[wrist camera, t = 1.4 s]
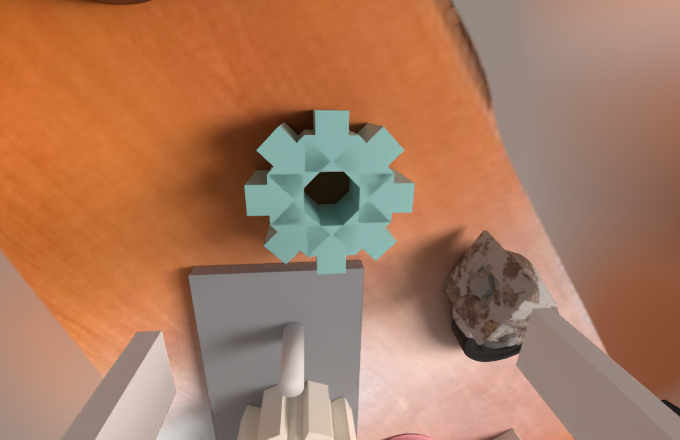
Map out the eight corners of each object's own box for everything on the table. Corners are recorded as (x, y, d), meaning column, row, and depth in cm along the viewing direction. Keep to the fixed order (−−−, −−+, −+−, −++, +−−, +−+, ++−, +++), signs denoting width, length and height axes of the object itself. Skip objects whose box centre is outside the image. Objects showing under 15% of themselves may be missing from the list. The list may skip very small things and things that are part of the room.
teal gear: (251, 108, 22) (237, 109, 18) (398, 110, 24) (421, 111, 19) (261, 246, 26) (252, 277, 21) (389, 242, 27) (406, 270, 23)
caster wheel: (486, 327, 35) (412, 315, 32) (558, 251, 30) (479, 227, 26) (524, 386, 30) (440, 379, 26) (621, 307, 24) (532, 285, 21)
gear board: (194, 266, 26) (153, 325, 19) (360, 260, 28) (380, 312, 21) (223, 450, 33) (202, 541, 26) (353, 437, 35) (366, 521, 28)
